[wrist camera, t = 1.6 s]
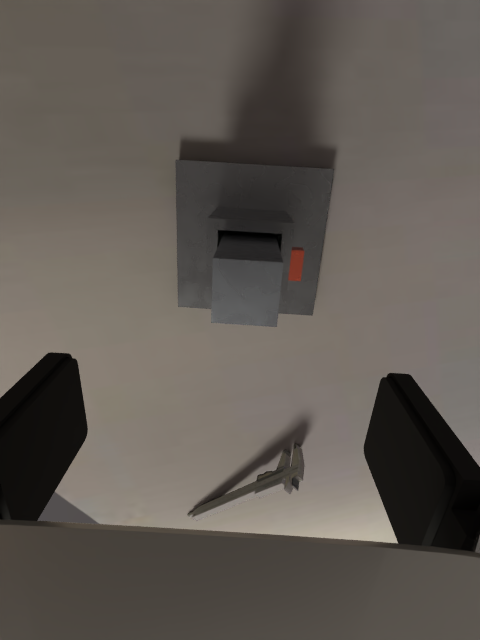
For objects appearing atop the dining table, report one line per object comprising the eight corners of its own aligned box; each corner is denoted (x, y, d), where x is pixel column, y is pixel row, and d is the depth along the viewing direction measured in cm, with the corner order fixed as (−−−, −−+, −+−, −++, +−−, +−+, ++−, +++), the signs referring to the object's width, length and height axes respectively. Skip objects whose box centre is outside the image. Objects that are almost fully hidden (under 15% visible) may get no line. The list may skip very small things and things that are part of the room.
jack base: (330, 168, 33) (356, 170, 24) (310, 310, 38) (325, 349, 30) (179, 159, 33) (153, 158, 25) (180, 301, 38) (160, 338, 30)
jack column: (273, 223, 33) (285, 261, 20) (269, 267, 35) (278, 328, 22) (228, 220, 33) (211, 256, 20) (226, 265, 35) (209, 323, 22)
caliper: (296, 440, 46) (301, 480, 40) (301, 445, 46) (308, 485, 40) (187, 512, 52) (179, 555, 46) (193, 516, 52) (185, 560, 47)
